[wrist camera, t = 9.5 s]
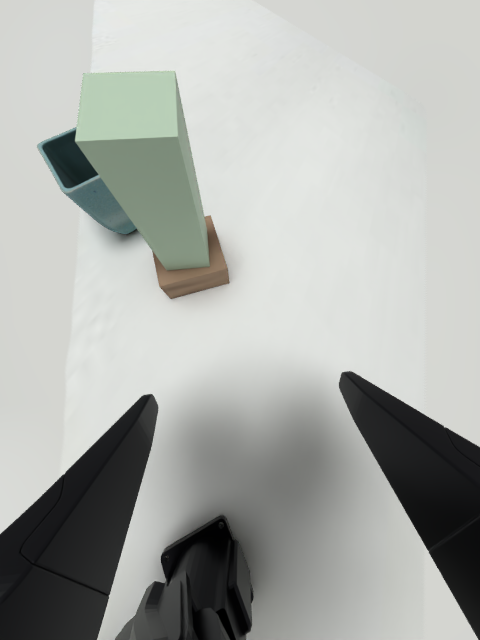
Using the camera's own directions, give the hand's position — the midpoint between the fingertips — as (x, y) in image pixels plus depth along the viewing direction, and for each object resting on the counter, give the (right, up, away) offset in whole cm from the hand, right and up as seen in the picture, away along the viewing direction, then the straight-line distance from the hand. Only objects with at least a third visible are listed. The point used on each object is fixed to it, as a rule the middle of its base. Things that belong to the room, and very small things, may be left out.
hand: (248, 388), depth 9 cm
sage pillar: (-7, +12, +14) cm, 19 cm away
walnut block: (-7, +11, +18) cm, 22 cm away
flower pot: (-17, +19, +20) cm, 32 cm away
